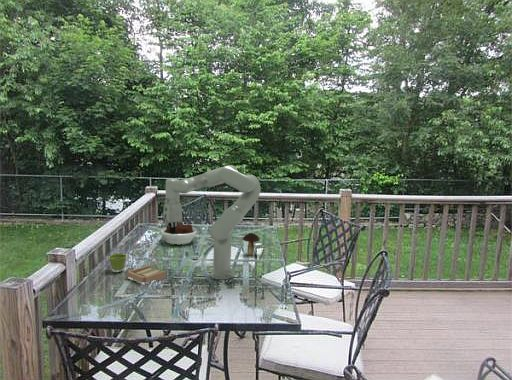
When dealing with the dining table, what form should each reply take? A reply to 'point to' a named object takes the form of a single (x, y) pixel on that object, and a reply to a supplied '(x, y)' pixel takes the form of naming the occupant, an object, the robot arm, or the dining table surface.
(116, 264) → the plant pot
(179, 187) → the robot arm
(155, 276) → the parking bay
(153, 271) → the beige rectangular block
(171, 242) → the white bowl with filling
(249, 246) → the decorative mushroom
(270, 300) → the dining table surface
